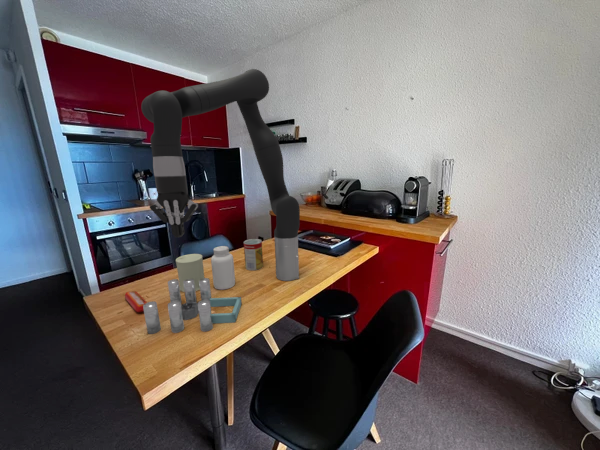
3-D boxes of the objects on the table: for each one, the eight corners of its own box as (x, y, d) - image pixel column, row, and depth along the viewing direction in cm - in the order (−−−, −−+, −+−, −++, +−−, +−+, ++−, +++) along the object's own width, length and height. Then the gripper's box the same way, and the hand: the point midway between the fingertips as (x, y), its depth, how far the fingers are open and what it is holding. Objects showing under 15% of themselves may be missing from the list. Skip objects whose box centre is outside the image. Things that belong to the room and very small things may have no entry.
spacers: (226, 298, 85) (224, 277, 83) (210, 331, 68) (207, 305, 67) (173, 301, 85) (170, 279, 83) (145, 334, 68) (140, 307, 66)
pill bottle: (215, 292, 90) (211, 253, 87) (212, 283, 97) (208, 246, 93) (237, 287, 94) (234, 249, 90) (232, 278, 100) (229, 243, 97)
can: (184, 281, 99) (180, 253, 96) (208, 280, 100) (205, 252, 97) (175, 293, 90) (170, 262, 87) (201, 291, 91) (197, 260, 88)
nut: (201, 309, 79) (199, 300, 79) (194, 320, 74) (193, 311, 73) (185, 310, 79) (183, 301, 79) (177, 321, 74) (175, 311, 73)
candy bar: (151, 311, 79) (150, 303, 78) (138, 316, 76) (136, 308, 76) (136, 295, 90) (134, 287, 89) (124, 299, 87) (122, 291, 86)
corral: (241, 303, 82) (241, 297, 81) (235, 322, 72) (234, 314, 72) (210, 305, 82) (210, 298, 81) (200, 323, 72) (199, 316, 71)
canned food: (264, 263, 116) (263, 239, 113) (260, 270, 108) (259, 244, 105) (248, 263, 116) (246, 238, 114) (243, 270, 109) (241, 244, 106)
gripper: (200, 173, 71) (206, 232, 75) (152, 174, 70) (161, 233, 74) (190, 174, 63) (197, 239, 67) (136, 175, 63) (147, 241, 67)
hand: (178, 236), depth 71 cm, fingers closed
